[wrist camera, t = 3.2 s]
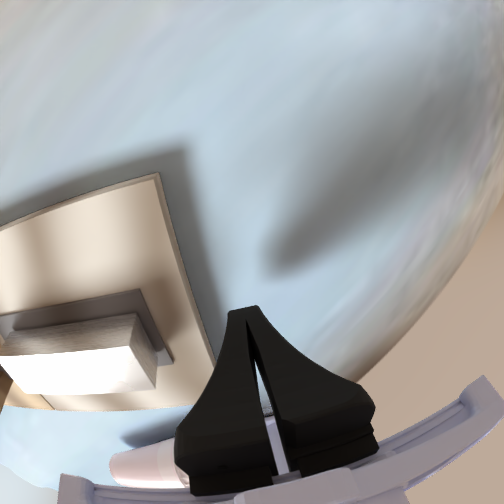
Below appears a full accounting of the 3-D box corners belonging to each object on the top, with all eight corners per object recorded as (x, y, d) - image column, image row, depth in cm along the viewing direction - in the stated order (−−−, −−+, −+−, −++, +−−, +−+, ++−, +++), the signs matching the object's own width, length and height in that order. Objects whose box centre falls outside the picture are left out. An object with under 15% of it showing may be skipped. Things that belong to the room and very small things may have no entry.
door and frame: (159, 172, 11) (128, 213, 6) (223, 381, 18) (234, 453, 13) (-76, 267, 9) (-112, 306, 5) (4, 392, 16) (-12, 437, 11)
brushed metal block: (136, 312, 12) (128, 346, 10) (158, 356, 13) (155, 389, 11) (10, 331, 11) (-5, 356, 9) (35, 367, 13) (25, 392, 11)
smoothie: (151, 471, 22) (271, 452, 21) (130, 508, 16) (267, 502, 14) (118, 429, 22) (239, 402, 21) (87, 464, 16) (227, 452, 14)
